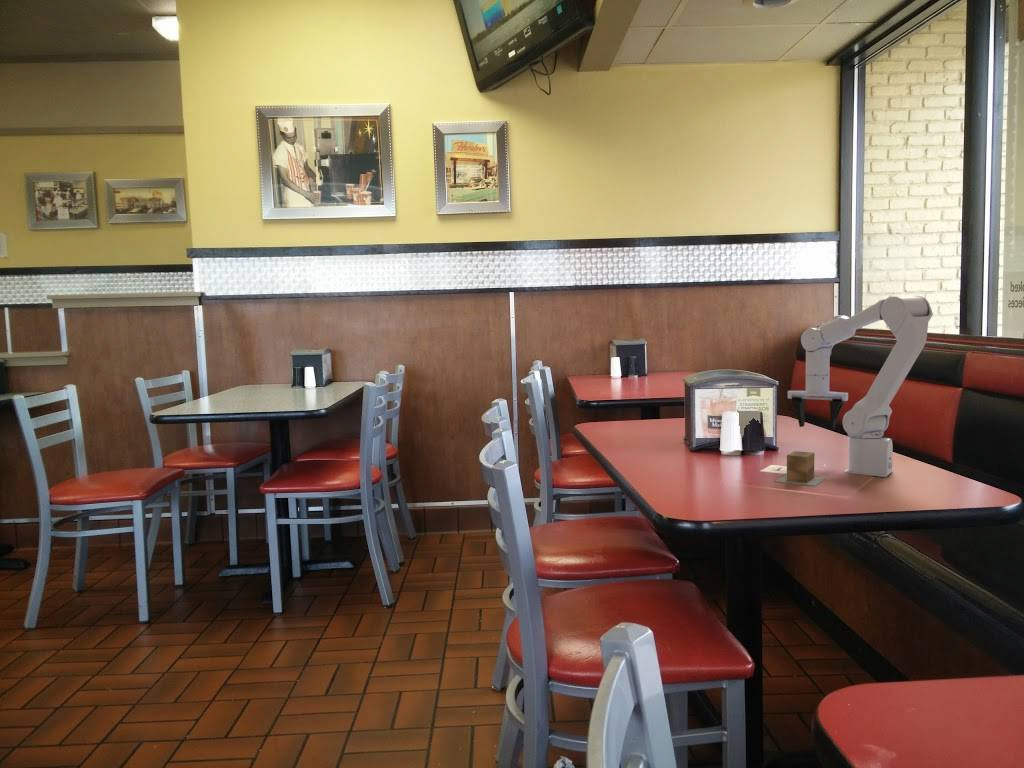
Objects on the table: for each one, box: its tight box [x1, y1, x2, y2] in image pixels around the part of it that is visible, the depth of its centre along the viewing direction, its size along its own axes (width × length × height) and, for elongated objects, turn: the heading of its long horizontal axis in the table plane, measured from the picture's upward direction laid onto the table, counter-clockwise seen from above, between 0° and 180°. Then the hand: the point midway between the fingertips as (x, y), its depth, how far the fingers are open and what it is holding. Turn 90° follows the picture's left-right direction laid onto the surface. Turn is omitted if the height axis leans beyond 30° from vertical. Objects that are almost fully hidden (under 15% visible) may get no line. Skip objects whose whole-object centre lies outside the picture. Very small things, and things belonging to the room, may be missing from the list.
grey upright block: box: [735, 408, 761, 437], centre depth 218 cm, size 6×4×12 cm
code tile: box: [760, 464, 787, 475], centre depth 191 cm, size 9×9×1 cm
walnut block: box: [786, 450, 815, 483], centre depth 179 cm, size 4×6×6 cm
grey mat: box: [774, 474, 827, 487], centre depth 179 cm, size 9×9×1 cm
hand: (817, 427), depth 199 cm, fingers open, 7 cm apart
